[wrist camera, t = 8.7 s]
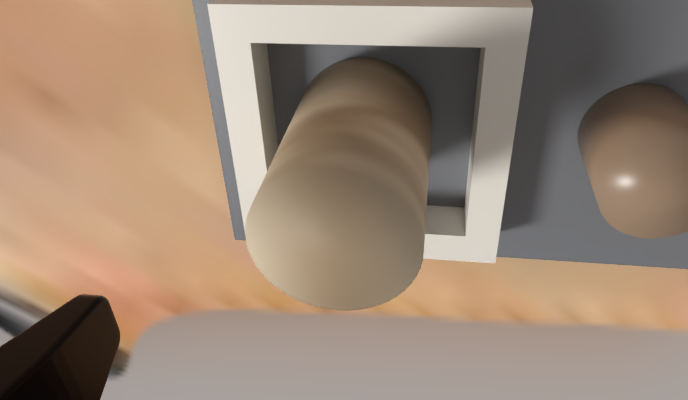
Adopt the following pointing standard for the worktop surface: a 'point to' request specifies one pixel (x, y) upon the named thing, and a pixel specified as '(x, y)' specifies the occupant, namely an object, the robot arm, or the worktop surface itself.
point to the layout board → (486, 114)
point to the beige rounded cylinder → (347, 190)
